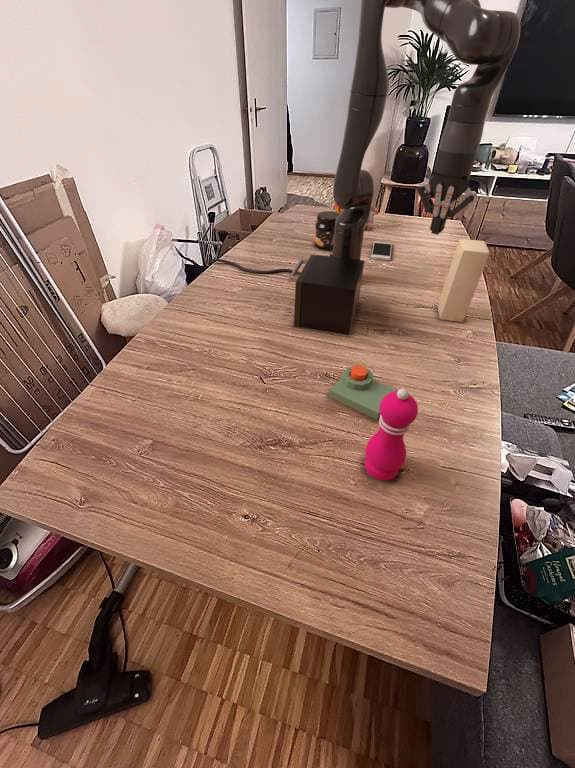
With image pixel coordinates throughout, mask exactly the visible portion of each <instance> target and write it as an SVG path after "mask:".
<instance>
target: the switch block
mask: <svg viewBox="0 0 575 768" xmlns="http://www.w3.org/2000/svg"><path fill="white" fill-rule="evenodd" d="M353 366H354V365H352V366H349V367H347V368H346V369H345V370H344V371H343V376H342V377H340V379H339V380H338V381H337V382H336V383H335V384H334V385H333V386H332V387H331V388H330V389H329V395H328V396H329V397H328V398H330V399H332V400H334V401H336V402H339V403H340V404H342V405H345V406H347V407H349V408H351V409H353V410H355V411H357V412H359V413H361V414H364V415H365V416H368V417H369V418H371V419H374V420H376V421H377V420H379V419H380V415H381V414H380V410H379V407H380V403H381V401H382V399H383V397H384V396H385V395H387V394H388V393H390V392H394V391H397V389H395V388H393V387H391V386H388V385H386V384H384V383H381V382H379V381H376V380H375V379H374V375H373V372H372V371H371V370H370V369H369V368H367V367H365V368H366V369H367V376H366V379H365V380H363V381H356V380H353V379H352V378H351V376H350V374H351V369H352V367H353Z"/></svg>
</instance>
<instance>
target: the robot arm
mask: <svg viewBox="0 0 575 768" xmlns="http://www.w3.org/2000/svg"><path fill="white" fill-rule="evenodd" d="M386 8H389V9H398V8H405V9H410V10H413V11H416V12H417V13H419V14H420V16H421V19H422V22H423V24H424V26H425V27H426V28H427V29H428V31H429V32H431V33H432V34H433V35H434V36H435V37H437V38H439V39H440V40H441V41H443V42H444V43H446V44H447V48H449V49H450V52H451V53H452V55H453V56H454V57H455V59H457V60H458V61H459V62H461V63H463V64H465V65H468V66H476V68H475V70H474V72H473V74H472V75H471V77H470V78H469V79H468V80H466V81H464V82H461V83H459V85H457V86H456V88H455V89H454V91H453V95H452V99H451V103H450V108H449V111H448V116H447V120H446V123H445V126H444V128H443V131H442V134H441V138H440V141H439V147H438V151H437V155H436V159H435V163H434V167H433V172H432V175H431V176H430V177H429V180H428V182H426V183H425V184H422V185H420V186H419V187H418V188H417V193H418V195H419V198H420V200H421V202H422V205H423V208H424V210H425V212H426V213H428V214H430V215H431V216H432V218H431V223H430V227H429V230H430V232H431V234H433V235H437V236H438V235H439V234H440V233H442V232H443V231H444V229H445V226H446V223H447V220H448V218H454V217H455V216H456V215H458V213H460V212H461V211H462V210H463V209H464V208H466V207H467V206H468V205H469V204H471V203H472V202H473V201H474V200H475V199H477V197H478V194H477V193H476V192H473V191H472V190H471V188H470V187H471V182H470V181H471V180H470V178H471V174H472V171H473V168H474V165H475V161H476V158H477V155H478V151H479V147H480V144H481V141H482V137H483V134H484V128H485V122H486V120H487V116H488V113H489V109H490V107H491V106H490V105H491V103H492V99H493V96H494V94H495V92H496V91H497V88H498V87H499V85H500V83H501V81H502V79H503V77H504V75H505V74H506V71H507V69H508V67H509V66H510V63H511V61H512V59H513V57H514V55H515V53H516V51H517V48H518V46H519V42H520V37H521V21H520V17H519V16H518V14H517V13H516V12H513V11H510V10H494V9H493V10H492V9H485V8H482V5H481V2H480V0H360V7H359V9H360V11H359V24H358V33H357V34H358V35H357V44H356V51H355V58H354V64H353V65H354V66H353V72H352V78H351V79H352V80H351V84H350V90H349V97H348V102H347V103H348V104H347V113H346V120H345V126H344V132H343V138H342V143H341V150H340V154H339V160H338V162H337V168H336V172H335V176H334V180H333V185H332V196H333V200H334V203H335V204H336V205H337V206H338V207H339V208H341V209H344V210H343V212H342V213H341V214H340V215H339V216H338V217H337V219H336V222H335V232H334V243H333V250H331V251H330V252H329V256H331V257H339V258H347V259H355V260H361V257H362V251H363V250H362V249H363V243H364V236H365V230H366V229H365V226H366V225H367V224H366V223H367V221H368V219H369V215H370V210H372V209H371V205H372V203H373V198H374V192H375V183H374V178H373V176H372V175H371V173H370V172H369V171H368V170H366V169H362V166H363V163H364V158H365V155H366V152H367V150H368V149H369V146H370V144H371V142H372V141H373V139H374V137H375V135H376V133H377V132H378V129H379V127H380V125H381V123H382V120H383V117H384V113H385V109H386V104H387V98H388V94H389V88H390V80H389V73H388V67H387V62H386V59H385V55H384V54H385V53H384V49H383V39H382V36H383V35H382V34H383V33H382V31H383V22H384V15H385V10H386ZM431 193H432V196H433V198H434V201H433V198H432V196H431ZM463 194H464V195H463ZM462 195H463V196H462ZM461 196H462V198H461V200H462V201H461V202H460V203H459V204H458V205H457V206H455V207H454V208H453V209H451V208H452V207H453V205H454V202H455V201H456V200H457V199H459V198H460V197H461ZM214 262H219V263H224V264H228V265H231V266H234V267H236V268H238V269H239V270H241V271H244V272H247V273H252V274H262V275H263V274H264V275H265V274H274V273H281V272H285V273H286V272H288V273H290V274H291V273H292V271H293V270H294V269H290V268H277V269H271V270H257V269H250V268H246V267H243V266H241V265H239V264H238V263H236V262H233V261H230V260H226V259H222V258H213V259H210V260H208V261H207V263H206V264H207V265H211V264H212V263H214ZM301 272H302V271H301ZM301 272H300V271H298V272H297V273H296V275H298V276H299V275H300V273H301Z"/></svg>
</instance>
